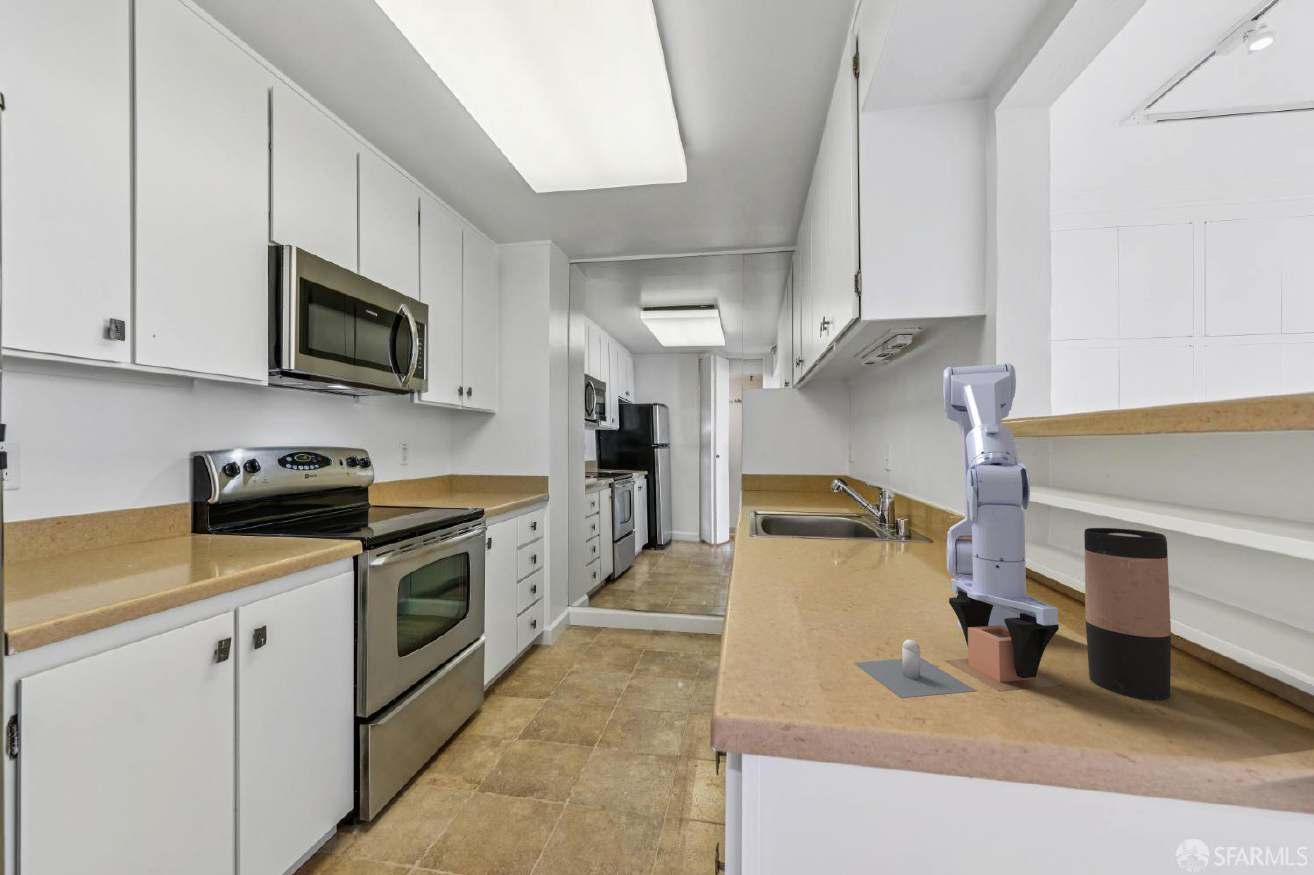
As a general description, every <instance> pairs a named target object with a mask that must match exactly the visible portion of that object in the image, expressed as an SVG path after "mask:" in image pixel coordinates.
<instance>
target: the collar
mask: <svg viewBox="0 0 1314 875" xmlns="http://www.w3.org/2000/svg"><path fill="white" fill-rule="evenodd" d="M992 634H1000V635H1005V636H1007V637H1002V638H999V637H996V636H994V635H992ZM967 649H968V650H967V651H968V652H967V653H968V659H969V666H971V667H972V668H974V669H976V670H978V671H980V672H982V673H984V674H985V675H987V676H989V677H991V678H993V679H995V680H997V681H999V682H1007V681H1018V680H1029V679H1035V677H1033V678H1020V677H1018V676H1017V674H1016V670H1015V662H1014V650H1013V644H1012V640H1011V636H1010V633H1009V631H1008V628H1006V627H1004V626H1001V625H997V626H982V627H968V646H967Z"/></svg>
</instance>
